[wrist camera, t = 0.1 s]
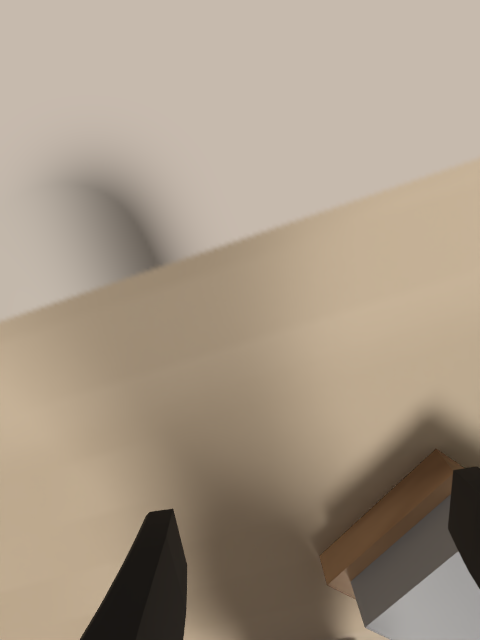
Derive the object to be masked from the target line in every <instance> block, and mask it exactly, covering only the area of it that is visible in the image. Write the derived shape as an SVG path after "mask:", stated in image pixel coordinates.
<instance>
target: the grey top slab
mask: <svg viewBox="0 0 480 640" xmlns="http://www.w3.org/2000/svg"><path fill="white" fill-rule="evenodd" d="M450 499H451V494H450V495H449V496H448V497H447V498H446V499H445V500H443V501H442V502H441V503H440V504H439V505H438V506H437V507H435V508H434V509H433V510H432V511H431V512H430V513H429V514H427V515H426V516H425V517H424V518H423V519H422V520H420V521H419V522H418V523H417V524H416V525H415V526H414V527H412V528H411V529H410V530H409V531H408V532H407V533H406V534H404V535H403V536H402V537H401V538H400V539H399V540H398V541H396V542H395V543H394V544H393V545H392V546H391V547H390V548H388V549H387V550H386V551H385V552H384V553H383V554H381V555H380V556H379V557H378V558H377V559H376V560H375V561H373V562H372V563H371V564H370V565H369V566H368V567H367V568H365V569H364V570H363V571H362V572H361V573H360V574H359V575H357V576H356V577H355V578H354V579H353V580H352V581H351V585H352V588H353V591H354V595H355V598H356V601H357V604H358V607H359V610H360V613H361V617H362V620H363V623H364V626H365V628H367V629H369V630H371V631H373V632H375V633H377V634H379V635H382V636H384V637H386V638H388V639H390V640H480V589H479V587H478V586H477V584H476V583H475V581H474V579H473V578H472V576H471V574H470V573H469V571H468V569H467V567H466V565H465V563H464V561H463V559H462V557H461V555H460V553H459V551H458V549H457V547H456V545H455V543H454V541H453V539H452V537H451V535H450V532H449V530H448V520H449V510H450Z"/></svg>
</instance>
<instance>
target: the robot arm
mask: <svg viewBox="0 0 480 640" xmlns="http://www.w3.org/2000/svg"><path fill="white" fill-rule="evenodd" d="M448 530H449V532H450V535H451V537H452V539H453V541H454V543H455V545H456V547H457V549H458V551H459V553H460V555H461V557H462V559H463V561H464V563H465V565H466V567H467V569H468V571H469V573H470V574H471V576H472V578H473V579H474V581H475V583H476V584H477V586H478V587H479V589H480V469H479V468H478V467H472V468H464V469H457V470H453V478H452V488H451V499H450V510H449V520H448ZM186 600H187V563H186V559H185V555H184V551H183V547H182V543H181V539H180V535H179V531H178V527H177V523H176V519H175V514H174V510H173V509H168V510H161V511H154V512H149V513H148V514H147V515H146V517H145V519H144V521H143V524H142V526H141V528H140V530H139V532H138V534H137V537H136V539H135V541H134V543H133V545H132V547H131V549H130V551H129V553H128V555H127V557H126V559H125V561H124V563H123V565H122V567H121V568H120V570H119V572H118V574H117V576H116V578H115V580H114V581H113V583H112V585H111V587H110V589H109V591H108V592H107V594H106V596H105V598H104V600H103V601H102V603H101V605H100V607H99V608H98V610H97V612H96V613H95V615H94V617H93V618H92V620H91V622H90V623H89V625H88V627H87V628H86V630H85V632H84V633H83V635H82V637H81V638H80V640H183V636H184V627H185V618H186Z"/></svg>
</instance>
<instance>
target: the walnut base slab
mask: <svg viewBox="0 0 480 640" xmlns="http://www.w3.org/2000/svg"><path fill="white" fill-rule="evenodd" d="M457 469H464V467H462V466H461V465H459V464H458V463H456V462H455V461H453V460H452V459H451V458H449V457H448V456H446V455H445V454H443V453H442V452H440V451H439V450H437V449H435V450H434V451H433V452H432V453H431V454H430V455H429V456H428V457H427V458H426V459H425V460H424V461H422V462H421V463H420V464H419V465H418V466H417V467H416V468H415V469H414V470H413V471H412V472H410V473H409V474H408V475H407V476H406V477H405V478H404V479H403V480H402V481H401V482H400V483H398V484H397V485H396V486H395V487H394V488H393V489H392V490H391V491H390V492H389V493H388V494H387V495H385V496H384V497H383V498H382V499H381V500H380V501H379V502H378V503H377V504H376V505H375V506H373V507H372V508H371V509H370V510H369V511H368V512H367V513H366V514H365V515H364V516H363V517H362V518H360V519H359V520H358V521H357V522H356V523H355V524H354V525H353V526H352V527H351V528H350V529H348V530H347V531H346V532H345V533H344V534H343V535H342V536H341V537H340V538H339V539H338V540H337V541H335V542H334V543H333V544H332V545H331V546H330V547H329V548H328V549H327V550H326V551H325V552H323V553H322V554H321V555H320V560H321V564H322V567H323V571H324V575H325V579H326V583H327V585H328V586H330V587H332V588H334V589H336V590H338V591H340V592H342V593H344V594H346V595H348V596H350V597H352V598H354V599H356V598H355V595H354V591H353V588H352V585H351V581H352V580H353V579H354V578H355V577H356V576H357V575H359V574H360V573H361V572H362V571H363V570H364V569H365V568H367V567H368V566H369V565H370V564H371V563H372V562H373V561H375V560H376V559H377V558H378V557H379V556H380V555H381V554H383V553H384V552H385V551H386V550H387V549H388V548H390V547H391V546H392V545H393V544H394V543H395V542H396V541H398V540H399V539H400V538H401V537H402V536H403V535H404V534H406V533H407V532H408V531H409V530H410V529H411V528H412V527H414V526H415V525H416V524H417V523H418V522H419V521H420V520H422V519H423V518H424V517H425V516H426V515H427V514H429V513H430V512H431V511H432V510H433V509H434V508H435V507H437V506H438V505H439V504H440V503H441V502H442V501H443V500H445V499H446V498H447V497H448V496H449V495H450V494H451V488H452V478H453V470H457Z"/></svg>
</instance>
